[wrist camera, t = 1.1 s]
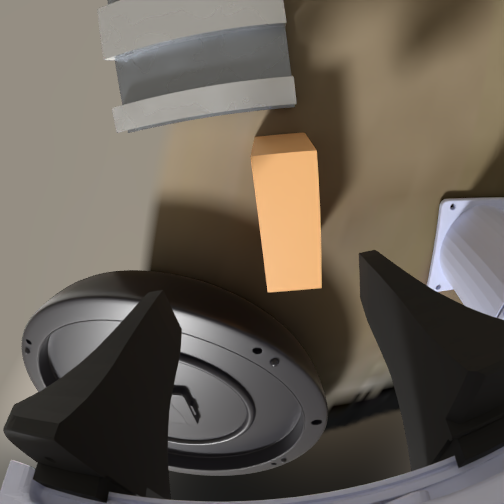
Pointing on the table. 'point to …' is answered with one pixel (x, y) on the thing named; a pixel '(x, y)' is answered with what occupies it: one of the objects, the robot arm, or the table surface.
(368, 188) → the table surface
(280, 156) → the orange notched block
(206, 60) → the slotted rail
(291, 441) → the grey bolted disc
